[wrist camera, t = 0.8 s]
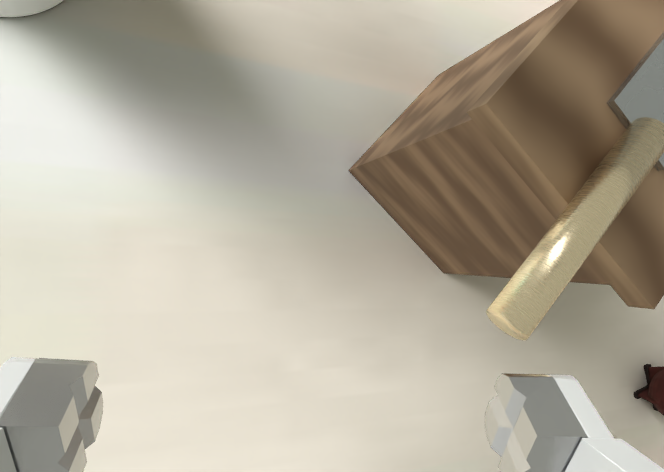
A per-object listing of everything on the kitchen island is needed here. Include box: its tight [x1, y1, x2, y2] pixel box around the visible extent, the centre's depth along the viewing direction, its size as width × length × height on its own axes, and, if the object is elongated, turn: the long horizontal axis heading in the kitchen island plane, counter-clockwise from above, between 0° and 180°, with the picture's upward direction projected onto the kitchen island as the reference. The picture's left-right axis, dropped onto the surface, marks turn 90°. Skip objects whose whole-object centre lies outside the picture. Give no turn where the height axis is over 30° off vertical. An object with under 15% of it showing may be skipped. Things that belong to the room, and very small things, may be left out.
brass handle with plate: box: [486, 32, 664, 340], centre depth 32 cm, size 24×6×3 cm, turn 136°
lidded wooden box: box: [349, 0, 664, 309], centre depth 47 cm, size 18×18×26 cm
